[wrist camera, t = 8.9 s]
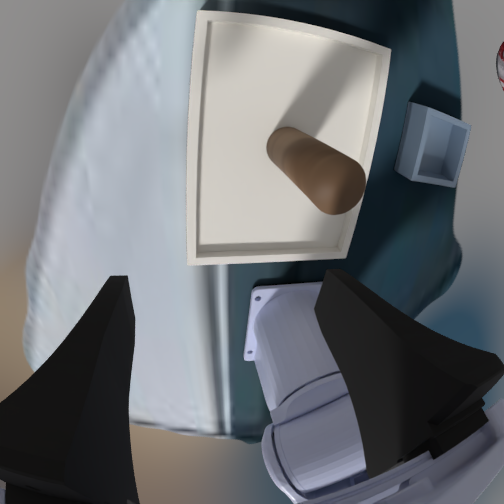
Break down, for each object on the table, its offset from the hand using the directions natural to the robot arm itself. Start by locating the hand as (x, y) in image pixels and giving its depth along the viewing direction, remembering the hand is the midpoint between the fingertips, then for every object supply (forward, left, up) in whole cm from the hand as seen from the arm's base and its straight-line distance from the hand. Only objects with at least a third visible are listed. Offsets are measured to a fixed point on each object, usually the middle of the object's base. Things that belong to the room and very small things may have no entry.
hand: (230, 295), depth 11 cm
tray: (+3, -5, -10) cm, 11 cm away
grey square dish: (+5, -17, -10) cm, 20 cm away
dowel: (+3, -5, -9) cm, 11 cm away
